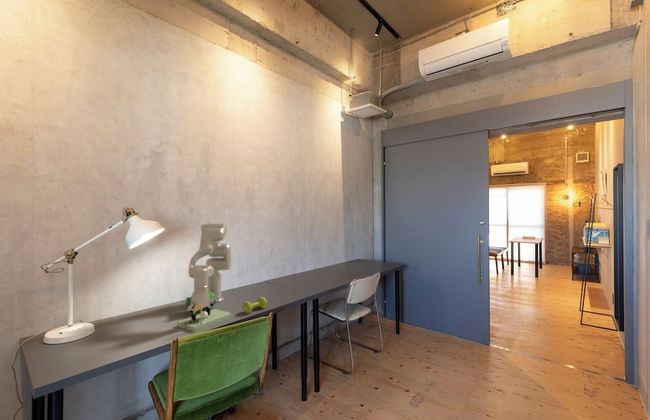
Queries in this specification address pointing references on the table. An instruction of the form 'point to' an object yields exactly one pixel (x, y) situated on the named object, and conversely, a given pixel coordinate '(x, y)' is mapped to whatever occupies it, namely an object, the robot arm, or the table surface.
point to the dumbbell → (254, 305)
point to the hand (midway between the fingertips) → (201, 317)
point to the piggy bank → (188, 303)
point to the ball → (204, 314)
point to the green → (204, 319)
